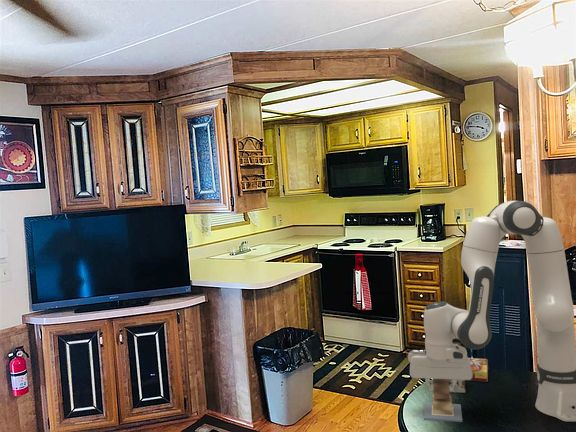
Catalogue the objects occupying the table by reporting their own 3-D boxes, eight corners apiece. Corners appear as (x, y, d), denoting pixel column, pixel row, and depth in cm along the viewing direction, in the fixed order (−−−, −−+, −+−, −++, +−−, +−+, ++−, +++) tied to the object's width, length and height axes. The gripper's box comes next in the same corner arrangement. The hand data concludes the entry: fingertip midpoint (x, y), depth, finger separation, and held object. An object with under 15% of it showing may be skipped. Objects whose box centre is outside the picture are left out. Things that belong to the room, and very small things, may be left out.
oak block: (451, 407, 167) (451, 395, 166) (452, 415, 161) (451, 403, 161) (433, 406, 168) (432, 394, 168) (433, 413, 163) (432, 402, 162)
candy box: (487, 383, 187) (488, 368, 201) (486, 372, 186) (487, 358, 200) (463, 381, 190) (465, 366, 204) (462, 370, 190) (464, 356, 204)
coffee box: (466, 392, 179) (463, 349, 178) (448, 392, 180) (445, 349, 180) (462, 383, 188) (459, 341, 187) (445, 383, 189) (442, 342, 189)
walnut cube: (449, 393, 166) (448, 379, 166) (449, 399, 161) (448, 384, 161) (434, 392, 168) (433, 378, 167) (434, 398, 163) (433, 384, 163)
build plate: (460, 406, 169) (460, 404, 169) (462, 422, 157) (462, 419, 157) (424, 404, 172) (424, 402, 172) (423, 419, 161) (423, 417, 161)
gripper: (406, 352, 164) (409, 393, 164) (471, 354, 158) (474, 396, 158) (407, 346, 170) (410, 385, 170) (470, 348, 164) (472, 388, 164)
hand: (441, 390), depth 164 cm, fingers closed on walnut cube, 5 cm apart
